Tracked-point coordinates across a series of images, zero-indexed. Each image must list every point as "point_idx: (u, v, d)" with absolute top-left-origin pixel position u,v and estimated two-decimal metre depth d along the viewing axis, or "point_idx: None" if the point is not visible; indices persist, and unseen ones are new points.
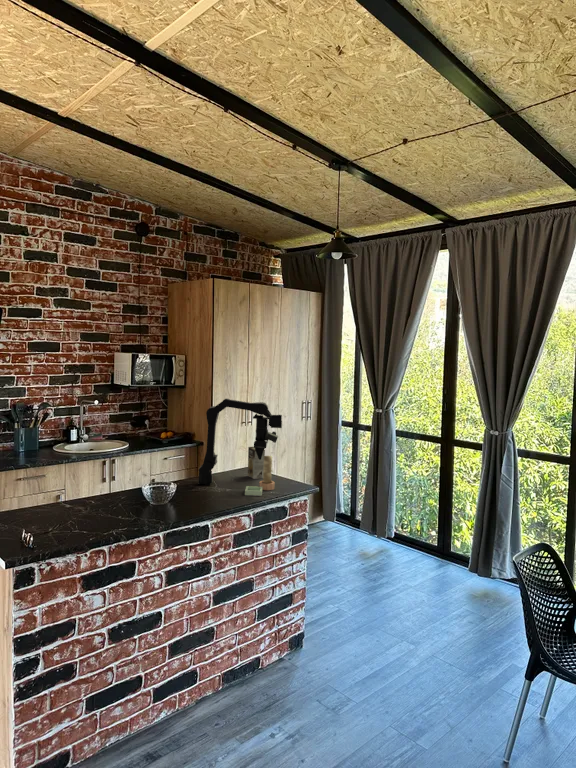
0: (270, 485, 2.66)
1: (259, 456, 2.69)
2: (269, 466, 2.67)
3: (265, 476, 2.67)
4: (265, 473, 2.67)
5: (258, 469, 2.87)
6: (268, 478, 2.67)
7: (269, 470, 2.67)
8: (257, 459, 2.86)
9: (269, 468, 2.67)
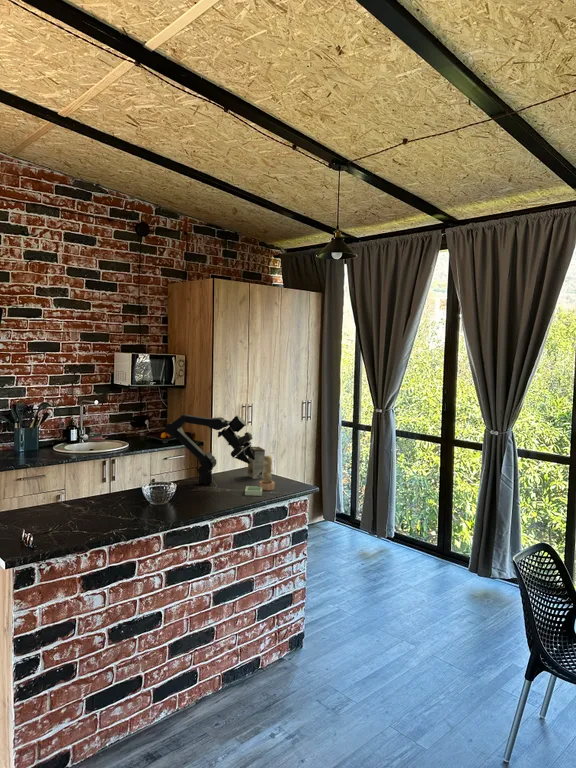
0: (270, 485, 2.66)
1: (246, 461, 2.65)
2: (269, 466, 2.67)
3: (265, 476, 2.67)
4: (265, 473, 2.67)
5: (258, 469, 2.87)
6: (268, 478, 2.67)
7: (269, 470, 2.67)
8: (257, 459, 2.86)
9: (269, 468, 2.67)
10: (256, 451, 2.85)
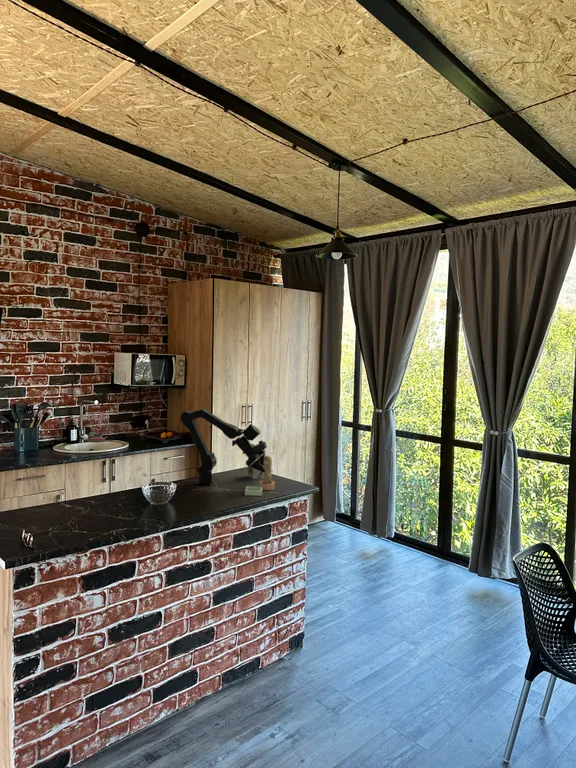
0: (270, 485, 2.66)
1: (261, 470, 2.64)
2: (269, 466, 2.67)
3: (265, 476, 2.67)
4: (265, 473, 2.67)
5: None
6: (268, 478, 2.67)
7: (269, 470, 2.67)
8: None
9: (269, 468, 2.67)
10: None
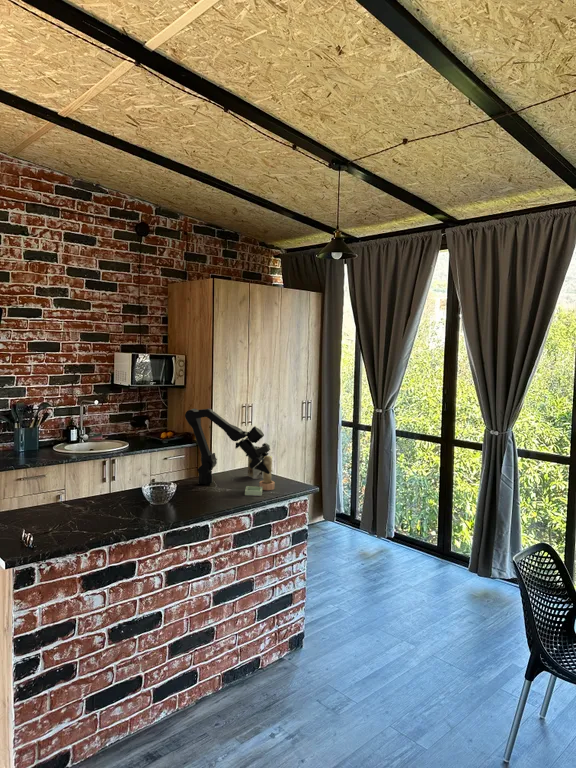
0: (270, 485, 2.66)
1: (266, 471, 2.66)
2: (269, 466, 2.67)
3: (265, 476, 2.67)
4: (265, 473, 2.67)
5: None
6: (268, 478, 2.67)
7: (269, 470, 2.67)
8: None
9: (269, 468, 2.67)
10: None
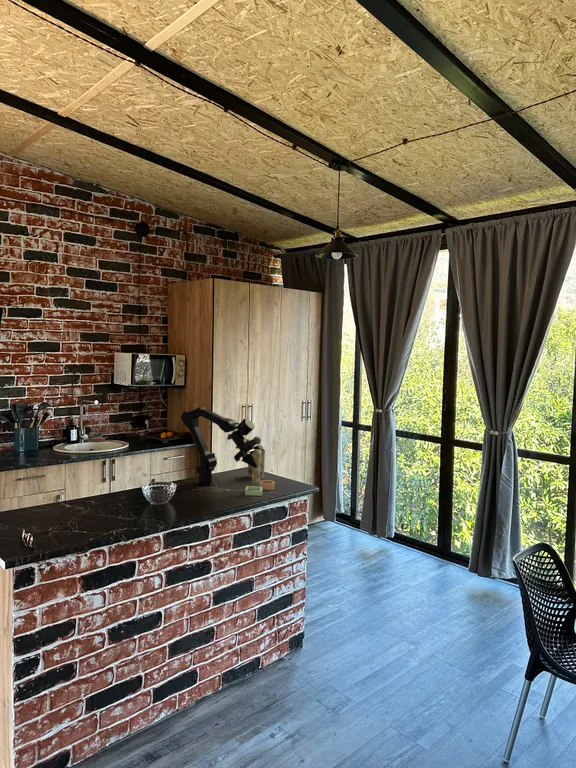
0: (270, 485, 2.66)
1: (253, 465, 2.58)
2: (257, 460, 2.58)
3: (253, 470, 2.59)
4: (253, 467, 2.59)
5: None
6: (256, 472, 2.58)
7: (257, 464, 2.58)
8: None
9: (257, 462, 2.58)
10: None
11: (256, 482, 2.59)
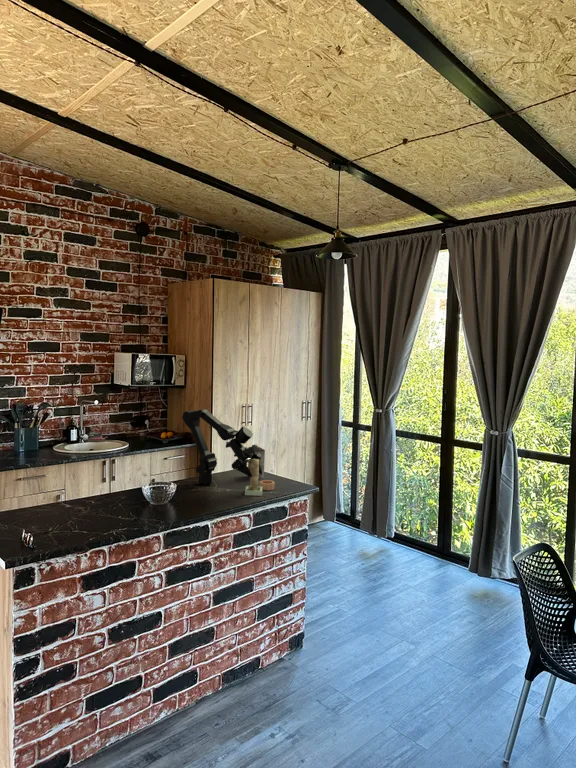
0: (270, 485, 2.66)
1: (248, 474, 2.55)
2: (255, 470, 2.57)
3: (251, 480, 2.58)
4: (251, 477, 2.58)
5: None
6: (253, 482, 2.58)
7: (255, 474, 2.57)
8: None
9: (255, 472, 2.57)
10: None
11: None
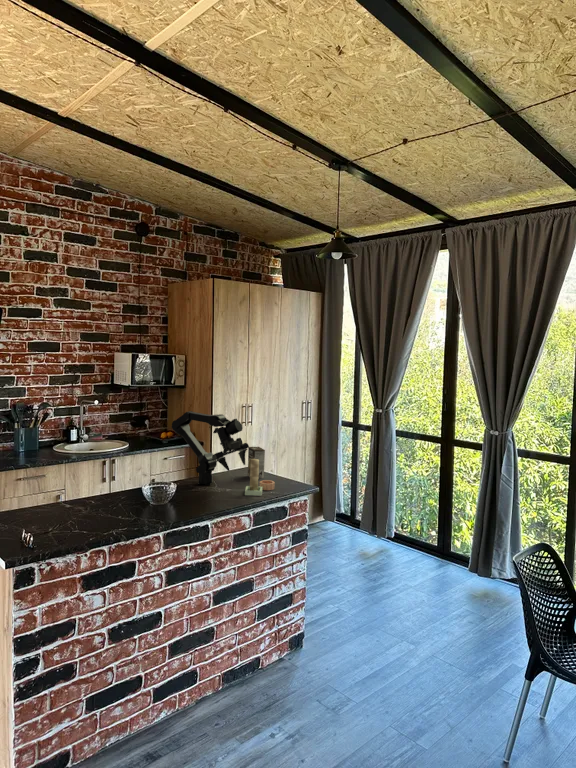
0: (270, 485, 2.66)
1: (226, 468, 2.63)
2: (254, 470, 2.57)
3: (251, 480, 2.58)
4: (251, 477, 2.58)
5: None
6: (253, 482, 2.58)
7: (255, 474, 2.57)
8: None
9: (255, 472, 2.57)
10: (256, 451, 2.85)
11: None
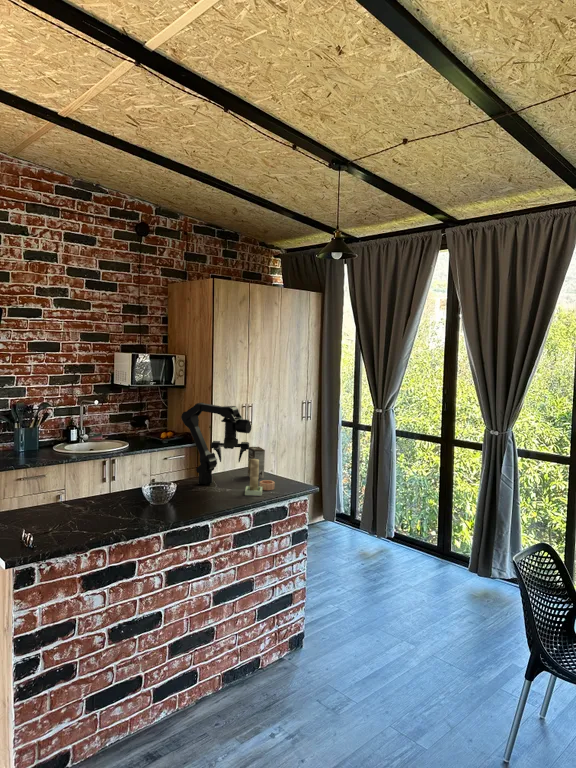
0: (270, 485, 2.66)
1: None
2: (255, 470, 2.57)
3: (251, 480, 2.58)
4: (251, 477, 2.58)
5: None
6: (253, 482, 2.58)
7: (255, 474, 2.57)
8: None
9: (255, 472, 2.57)
10: (256, 451, 2.85)
11: None
